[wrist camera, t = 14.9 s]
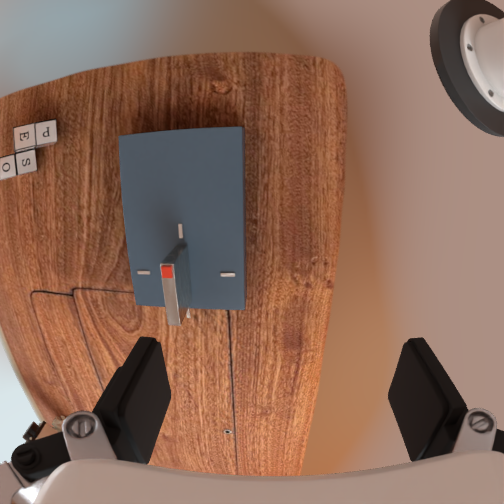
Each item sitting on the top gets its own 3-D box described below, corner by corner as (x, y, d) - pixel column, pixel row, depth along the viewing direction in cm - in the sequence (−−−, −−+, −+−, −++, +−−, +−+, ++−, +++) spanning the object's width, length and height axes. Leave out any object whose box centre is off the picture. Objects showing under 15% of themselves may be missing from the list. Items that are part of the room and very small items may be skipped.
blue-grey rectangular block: (130, 135, 30) (117, 135, 27) (244, 128, 29) (242, 126, 26) (146, 301, 36) (137, 314, 33) (246, 305, 35) (244, 320, 32)
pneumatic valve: (87, 442, 49) (66, 484, 37) (42, 406, 46) (15, 446, 35) (97, 436, 47) (75, 481, 36) (50, 398, 45) (21, 440, 33)
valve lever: (192, 300, 32) (179, 327, 27) (181, 299, 32) (167, 326, 27) (187, 245, 30) (172, 264, 25) (175, 244, 30) (158, 264, 25)
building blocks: (51, 126, 31) (-5, 139, 26) (56, 118, 27) (-9, 133, 22) (55, 166, 33) (-1, 181, 28) (59, 164, 29) (-5, 180, 24)
